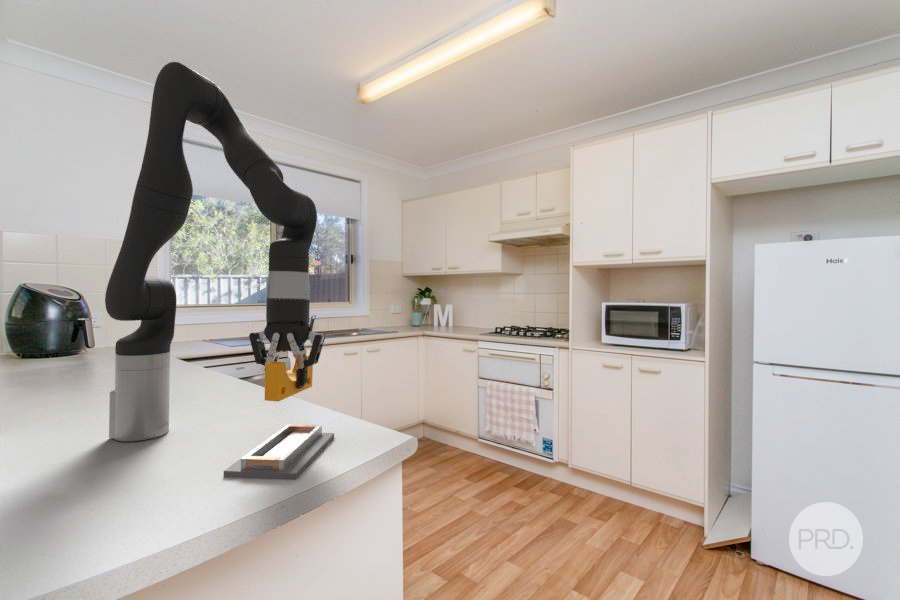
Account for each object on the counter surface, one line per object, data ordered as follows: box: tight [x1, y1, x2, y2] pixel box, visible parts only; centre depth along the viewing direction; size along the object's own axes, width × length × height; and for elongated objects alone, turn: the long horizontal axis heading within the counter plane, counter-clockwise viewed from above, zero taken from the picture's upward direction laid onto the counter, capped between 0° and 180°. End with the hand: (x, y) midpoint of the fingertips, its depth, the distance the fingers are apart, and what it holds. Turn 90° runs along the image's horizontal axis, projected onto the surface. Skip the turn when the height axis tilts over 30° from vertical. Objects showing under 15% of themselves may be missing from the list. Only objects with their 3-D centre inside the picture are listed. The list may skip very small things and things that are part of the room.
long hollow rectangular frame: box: [240, 423, 323, 471], centre depth 77 cm, size 7×18×2 cm, turn 178°
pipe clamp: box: [264, 353, 314, 402], centre depth 77 cm, size 12×4×6 cm, turn 171°
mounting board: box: [223, 432, 335, 481], centre depth 77 cm, size 12×20×1 cm, turn 178°
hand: (286, 387), depth 77 cm, fingers closed on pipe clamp, 4 cm apart
